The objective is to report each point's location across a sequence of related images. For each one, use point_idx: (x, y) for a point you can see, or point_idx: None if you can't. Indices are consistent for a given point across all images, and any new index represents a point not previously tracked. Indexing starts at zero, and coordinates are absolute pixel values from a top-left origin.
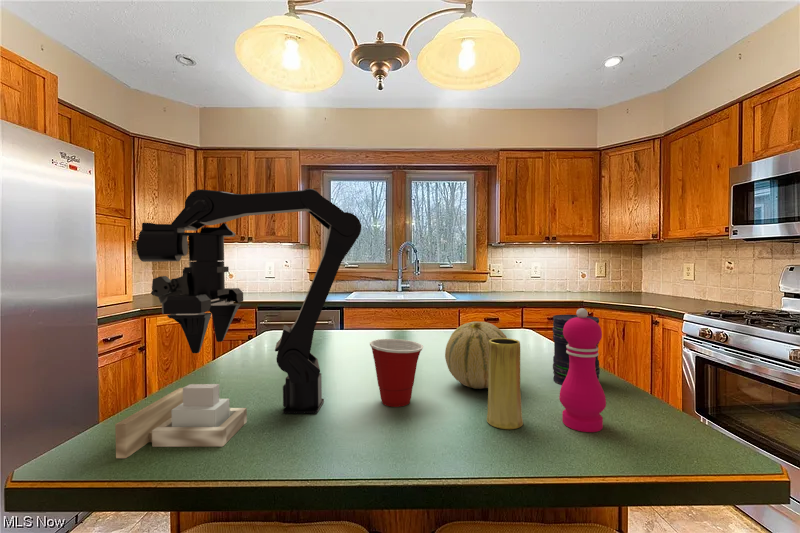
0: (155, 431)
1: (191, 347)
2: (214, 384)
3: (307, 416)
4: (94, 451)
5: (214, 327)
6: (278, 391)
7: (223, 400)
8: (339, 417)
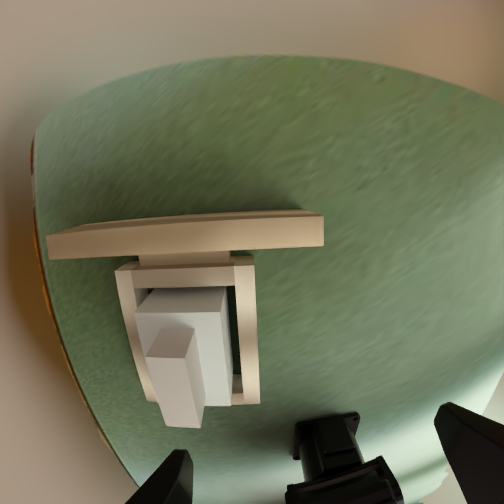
0: (116, 278)
1: (162, 470)
2: (195, 420)
3: (284, 449)
4: (104, 155)
5: (486, 440)
6: (423, 360)
7: (215, 400)
8: (278, 475)
